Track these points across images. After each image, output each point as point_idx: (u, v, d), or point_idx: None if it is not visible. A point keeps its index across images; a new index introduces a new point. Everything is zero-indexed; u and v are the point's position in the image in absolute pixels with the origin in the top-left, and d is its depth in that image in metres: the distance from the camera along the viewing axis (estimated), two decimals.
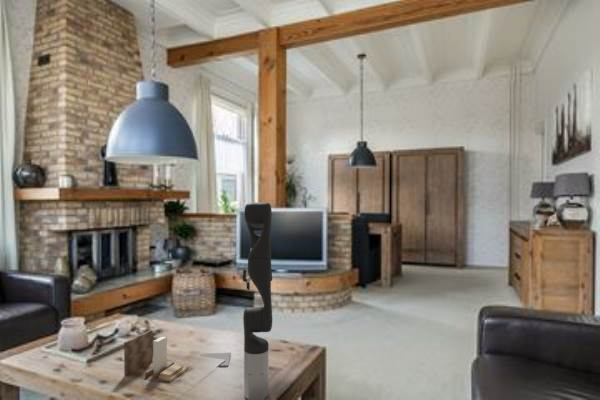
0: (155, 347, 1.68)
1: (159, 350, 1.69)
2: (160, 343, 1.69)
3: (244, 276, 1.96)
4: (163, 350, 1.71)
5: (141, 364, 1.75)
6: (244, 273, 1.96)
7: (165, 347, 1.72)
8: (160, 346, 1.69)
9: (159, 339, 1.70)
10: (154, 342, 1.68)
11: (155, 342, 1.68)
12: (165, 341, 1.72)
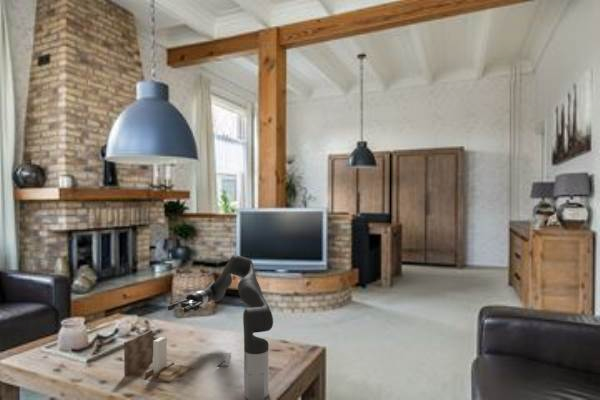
0: (155, 347, 1.68)
1: (159, 350, 1.69)
2: (160, 343, 1.69)
3: (174, 301, 1.90)
4: (163, 350, 1.71)
5: (141, 364, 1.75)
6: (176, 300, 1.91)
7: (165, 347, 1.72)
8: (160, 346, 1.69)
9: (159, 339, 1.70)
10: (154, 342, 1.68)
11: (155, 342, 1.68)
12: (165, 341, 1.72)
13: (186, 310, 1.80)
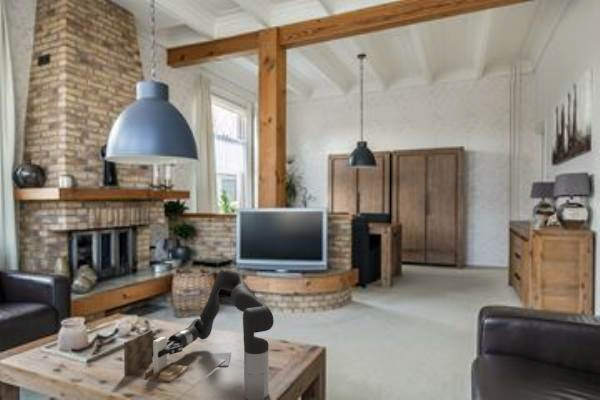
0: (155, 347, 1.68)
1: (159, 350, 1.69)
2: (160, 343, 1.69)
3: None
4: None
5: (141, 364, 1.75)
6: None
7: (165, 347, 1.72)
8: (160, 346, 1.69)
9: (159, 339, 1.70)
10: (154, 342, 1.68)
11: (155, 342, 1.68)
12: (165, 341, 1.72)
13: (160, 355, 1.68)
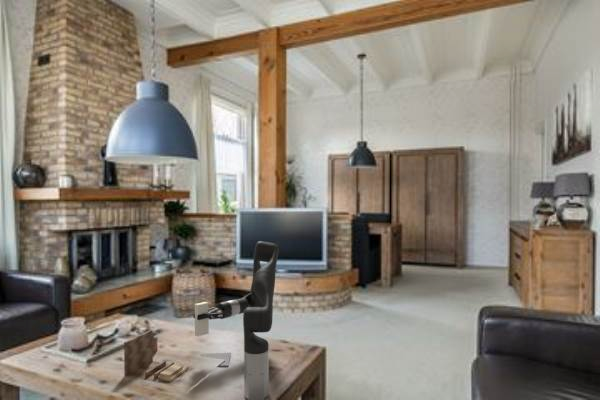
0: (196, 310, 1.80)
1: (199, 313, 1.80)
2: (200, 307, 1.80)
3: None
4: None
5: (141, 364, 1.75)
6: None
7: (206, 312, 1.83)
8: (200, 309, 1.80)
9: (200, 303, 1.82)
10: (195, 305, 1.80)
11: (196, 305, 1.80)
12: (206, 306, 1.83)
13: (199, 317, 1.79)
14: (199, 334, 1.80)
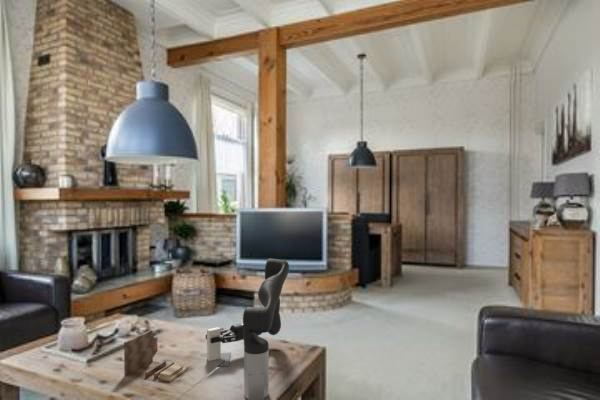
0: (208, 335, 1.83)
1: None
2: (212, 332, 1.83)
3: None
4: None
5: (141, 364, 1.75)
6: None
7: None
8: (211, 335, 1.83)
9: (212, 329, 1.84)
10: (207, 331, 1.83)
11: (208, 331, 1.83)
12: (218, 332, 1.85)
13: (212, 341, 1.81)
14: (211, 359, 1.83)
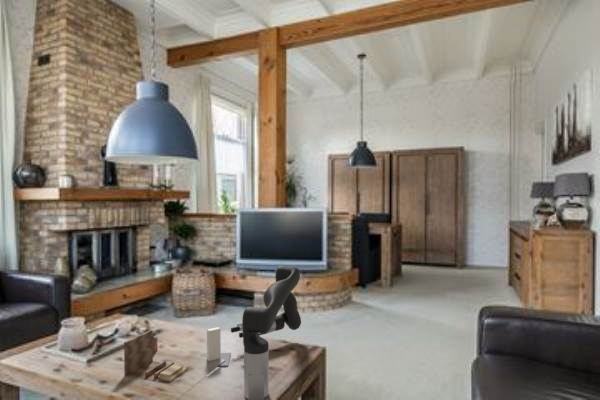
0: (208, 335, 1.83)
1: (211, 339, 1.82)
2: (212, 332, 1.83)
3: None
4: (216, 340, 1.84)
5: (141, 364, 1.75)
6: None
7: (218, 337, 1.85)
8: (211, 335, 1.83)
9: (212, 329, 1.84)
10: (207, 331, 1.83)
11: (208, 331, 1.83)
12: (218, 332, 1.85)
13: (241, 335, 1.87)
14: (211, 359, 1.83)
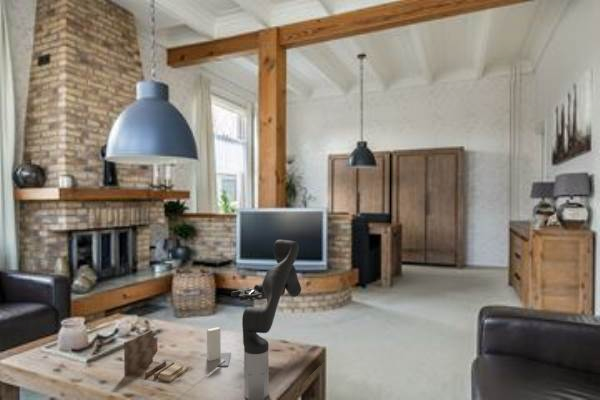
0: (208, 335, 1.83)
1: (211, 339, 1.82)
2: (212, 332, 1.83)
3: None
4: (216, 340, 1.84)
5: (141, 364, 1.75)
6: (244, 288, 2.01)
7: (218, 337, 1.85)
8: (211, 335, 1.83)
9: (212, 329, 1.84)
10: (207, 331, 1.83)
11: (208, 331, 1.83)
12: (218, 332, 1.85)
13: (241, 298, 1.87)
14: (211, 359, 1.83)
